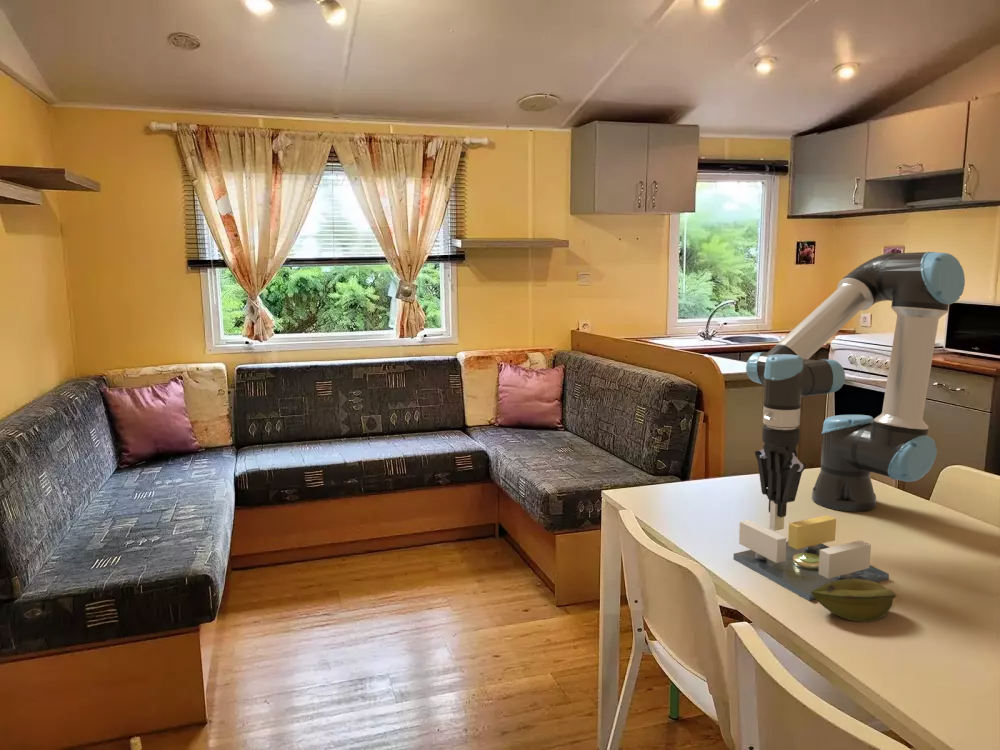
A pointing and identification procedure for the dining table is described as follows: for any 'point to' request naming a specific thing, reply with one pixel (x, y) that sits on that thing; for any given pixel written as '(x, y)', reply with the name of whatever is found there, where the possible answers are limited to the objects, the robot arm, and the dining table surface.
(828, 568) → the white brick piece
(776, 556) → the white crossbar plank
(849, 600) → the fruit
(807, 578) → the base
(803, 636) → the dining table surface
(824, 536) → the yellow lintel plank
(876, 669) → the dining table surface
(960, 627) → the dining table surface
